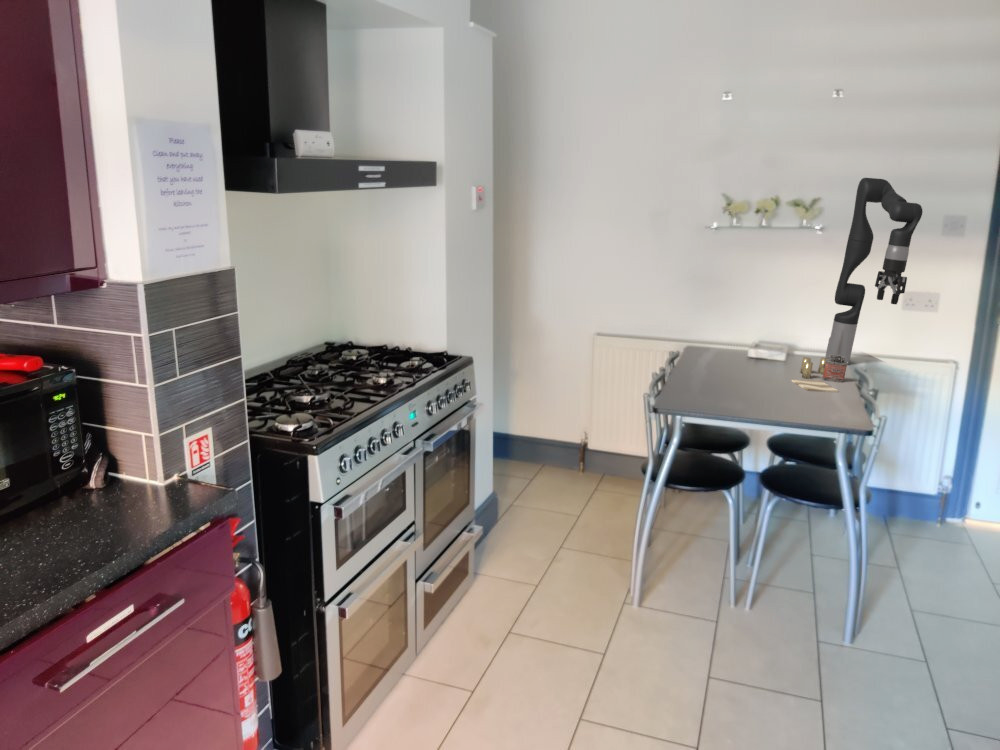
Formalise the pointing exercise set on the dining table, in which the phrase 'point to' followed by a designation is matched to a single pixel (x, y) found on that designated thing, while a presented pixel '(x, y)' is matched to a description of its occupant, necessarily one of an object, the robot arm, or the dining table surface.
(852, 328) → the robot arm
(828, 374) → the lighter
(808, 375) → the spacer posts
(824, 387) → the pad
